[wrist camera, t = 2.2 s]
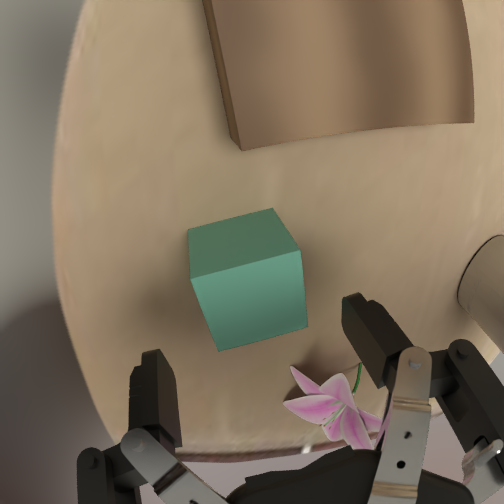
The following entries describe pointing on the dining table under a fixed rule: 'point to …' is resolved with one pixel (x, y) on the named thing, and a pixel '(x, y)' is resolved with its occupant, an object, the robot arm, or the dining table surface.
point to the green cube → (247, 278)
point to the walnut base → (339, 66)
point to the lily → (334, 409)
